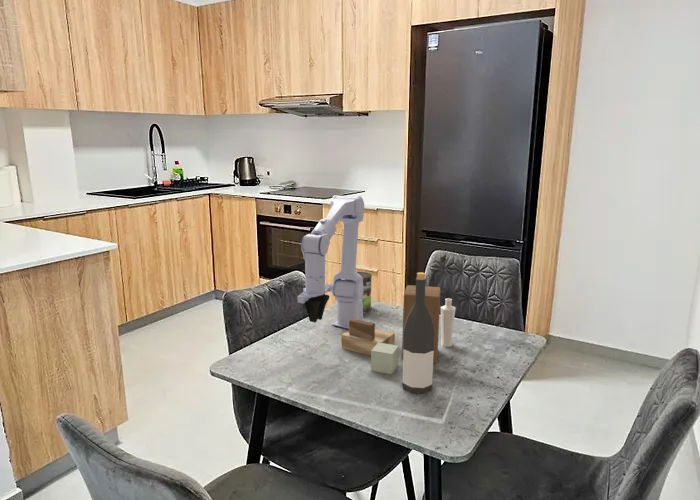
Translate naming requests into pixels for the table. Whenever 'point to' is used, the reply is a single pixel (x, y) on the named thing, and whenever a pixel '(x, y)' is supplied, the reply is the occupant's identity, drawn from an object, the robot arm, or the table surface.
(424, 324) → the wine bottle
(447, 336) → the perfume bottle
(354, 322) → the walnut block
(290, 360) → the table surface
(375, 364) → the sage cube
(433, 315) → the wooden block
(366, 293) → the coffee can
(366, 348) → the oak step
